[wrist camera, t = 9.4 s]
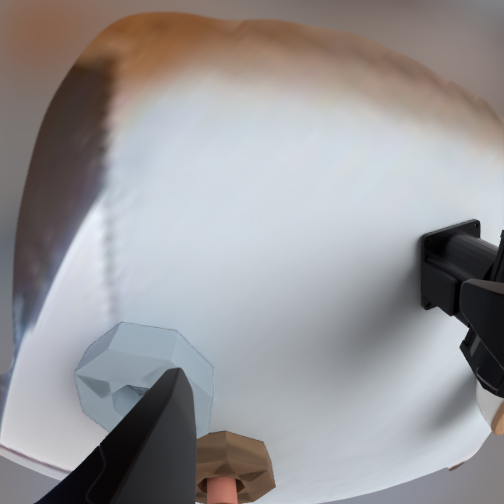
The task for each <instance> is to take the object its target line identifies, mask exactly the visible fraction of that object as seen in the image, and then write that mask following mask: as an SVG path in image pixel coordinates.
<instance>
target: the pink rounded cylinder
mask: <svg viewBox="0 0 504 504" xmlns="http://www.w3.org/2000/svg"><path fill="white" fill-rule="evenodd" d="M207 504H238V501H237V490H236V479H234V478H229V477H225V476H220V477H212V478H207Z"/></svg>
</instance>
